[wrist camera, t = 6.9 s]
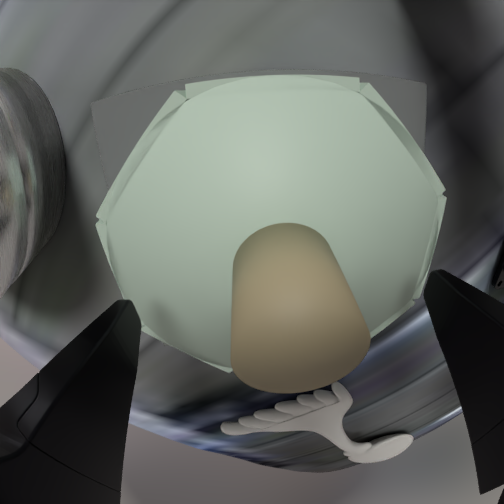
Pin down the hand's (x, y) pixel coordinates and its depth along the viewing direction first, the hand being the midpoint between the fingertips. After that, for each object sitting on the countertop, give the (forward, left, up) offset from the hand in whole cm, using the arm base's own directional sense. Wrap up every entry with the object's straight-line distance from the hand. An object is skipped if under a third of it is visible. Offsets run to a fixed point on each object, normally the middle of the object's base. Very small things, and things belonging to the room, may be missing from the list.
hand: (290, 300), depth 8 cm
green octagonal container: (0, 0, -4) cm, 4 cm away
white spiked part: (-8, +24, -5) cm, 26 cm away
